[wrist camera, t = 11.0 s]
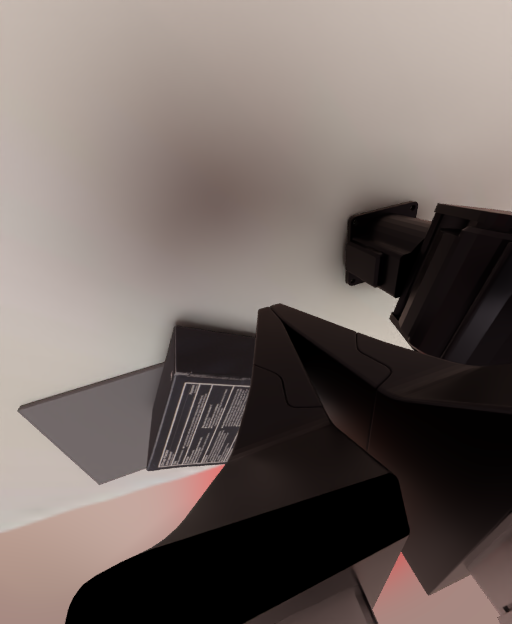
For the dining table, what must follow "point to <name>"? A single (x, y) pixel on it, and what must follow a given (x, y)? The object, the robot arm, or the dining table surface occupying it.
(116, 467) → the mat
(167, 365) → the small box
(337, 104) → the dining table surface
